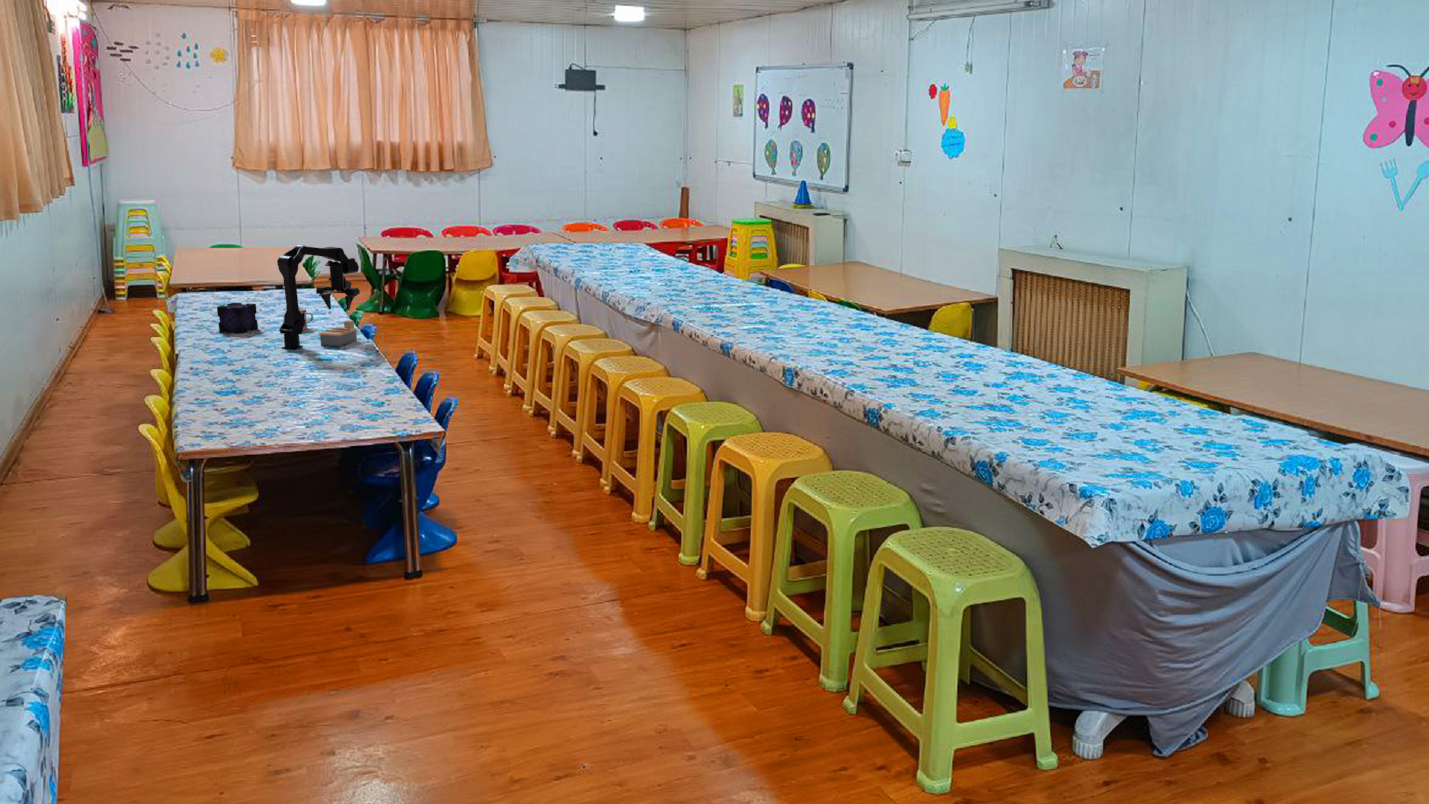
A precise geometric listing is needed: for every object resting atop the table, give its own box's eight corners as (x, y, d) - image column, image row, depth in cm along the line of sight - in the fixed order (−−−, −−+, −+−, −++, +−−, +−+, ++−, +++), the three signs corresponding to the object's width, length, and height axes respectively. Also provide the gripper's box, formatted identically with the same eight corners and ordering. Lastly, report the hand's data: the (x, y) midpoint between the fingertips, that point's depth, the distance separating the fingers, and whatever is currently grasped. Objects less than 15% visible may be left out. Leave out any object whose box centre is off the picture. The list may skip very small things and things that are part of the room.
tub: (339, 347, 501) (338, 336, 499) (321, 346, 503) (320, 334, 502) (356, 341, 514) (356, 330, 512) (339, 339, 516) (338, 328, 515)
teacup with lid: (289, 331, 533) (287, 306, 530) (285, 328, 540) (283, 303, 537) (316, 329, 539) (314, 304, 536) (311, 325, 547) (309, 301, 544)
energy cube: (219, 332, 529) (216, 306, 526) (235, 327, 541) (233, 302, 538) (242, 334, 527) (239, 308, 524) (258, 329, 538) (255, 303, 535)
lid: (338, 336, 499) (338, 328, 498) (319, 334, 502) (318, 326, 501) (360, 328, 515) (360, 321, 514) (341, 327, 518) (340, 319, 517)
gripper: (365, 274, 519) (367, 308, 522) (327, 272, 523) (330, 305, 527) (352, 277, 508) (354, 312, 512) (314, 275, 512) (316, 309, 516)
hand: (339, 309), depth 517 cm, fingers open, 9 cm apart
